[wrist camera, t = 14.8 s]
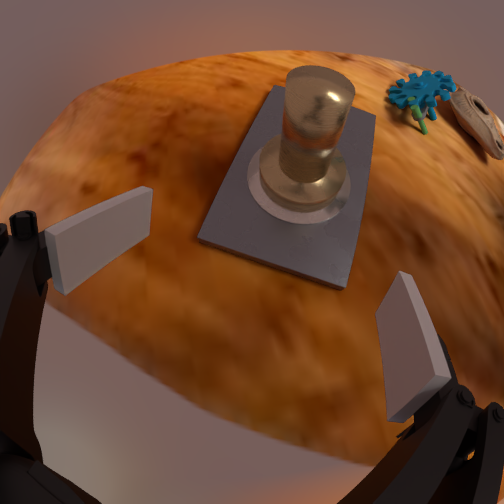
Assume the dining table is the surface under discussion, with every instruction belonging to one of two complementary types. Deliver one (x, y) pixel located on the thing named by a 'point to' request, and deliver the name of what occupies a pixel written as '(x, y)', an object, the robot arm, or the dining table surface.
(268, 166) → the metal knob
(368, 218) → the dining table surface
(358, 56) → the dining table surface
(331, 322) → the dining table surface
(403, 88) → the gear
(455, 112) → the pottery oil lamp
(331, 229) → the carrier plate
